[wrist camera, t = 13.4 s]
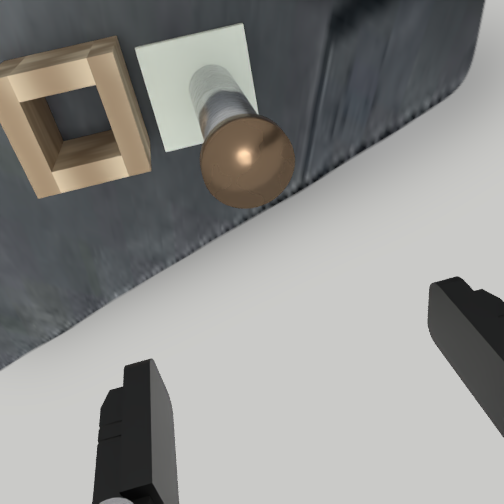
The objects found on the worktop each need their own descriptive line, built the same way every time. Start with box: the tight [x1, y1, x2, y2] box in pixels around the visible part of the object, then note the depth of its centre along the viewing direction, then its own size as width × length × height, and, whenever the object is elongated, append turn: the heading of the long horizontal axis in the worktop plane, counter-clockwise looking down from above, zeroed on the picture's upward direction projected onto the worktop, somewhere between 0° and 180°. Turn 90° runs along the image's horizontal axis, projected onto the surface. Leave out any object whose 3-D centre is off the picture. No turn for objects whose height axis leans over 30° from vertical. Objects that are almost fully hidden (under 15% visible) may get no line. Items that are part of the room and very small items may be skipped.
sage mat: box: [135, 23, 259, 152], centre depth 36 cm, size 8×8×1 cm
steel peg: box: [189, 65, 295, 208], centre depth 30 cm, size 5×5×15 cm
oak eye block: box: [0, 36, 151, 199], centre depth 33 cm, size 8×8×6 cm
